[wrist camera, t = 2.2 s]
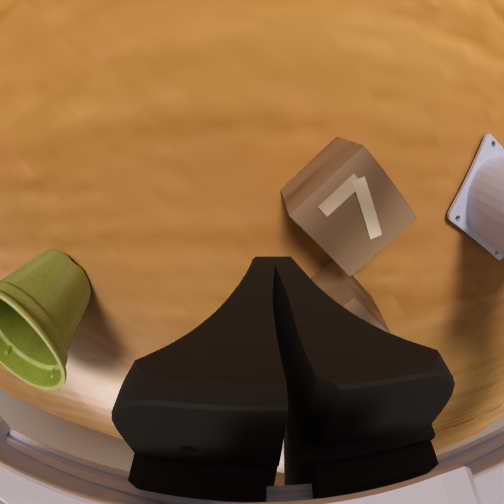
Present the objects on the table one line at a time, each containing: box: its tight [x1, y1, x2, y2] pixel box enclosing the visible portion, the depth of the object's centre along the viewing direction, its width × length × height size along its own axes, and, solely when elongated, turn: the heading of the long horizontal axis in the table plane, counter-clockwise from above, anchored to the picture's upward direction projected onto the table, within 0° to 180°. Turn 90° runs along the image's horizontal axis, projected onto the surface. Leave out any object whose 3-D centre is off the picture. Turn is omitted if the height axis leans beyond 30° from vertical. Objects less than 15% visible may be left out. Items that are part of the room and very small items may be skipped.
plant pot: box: [0, 250, 91, 390], centre depth 18 cm, size 9×9×9 cm
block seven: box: [281, 137, 417, 277], centre depth 16 cm, size 5×5×5 cm
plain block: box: [311, 260, 391, 334], centre depth 20 cm, size 5×5×5 cm
